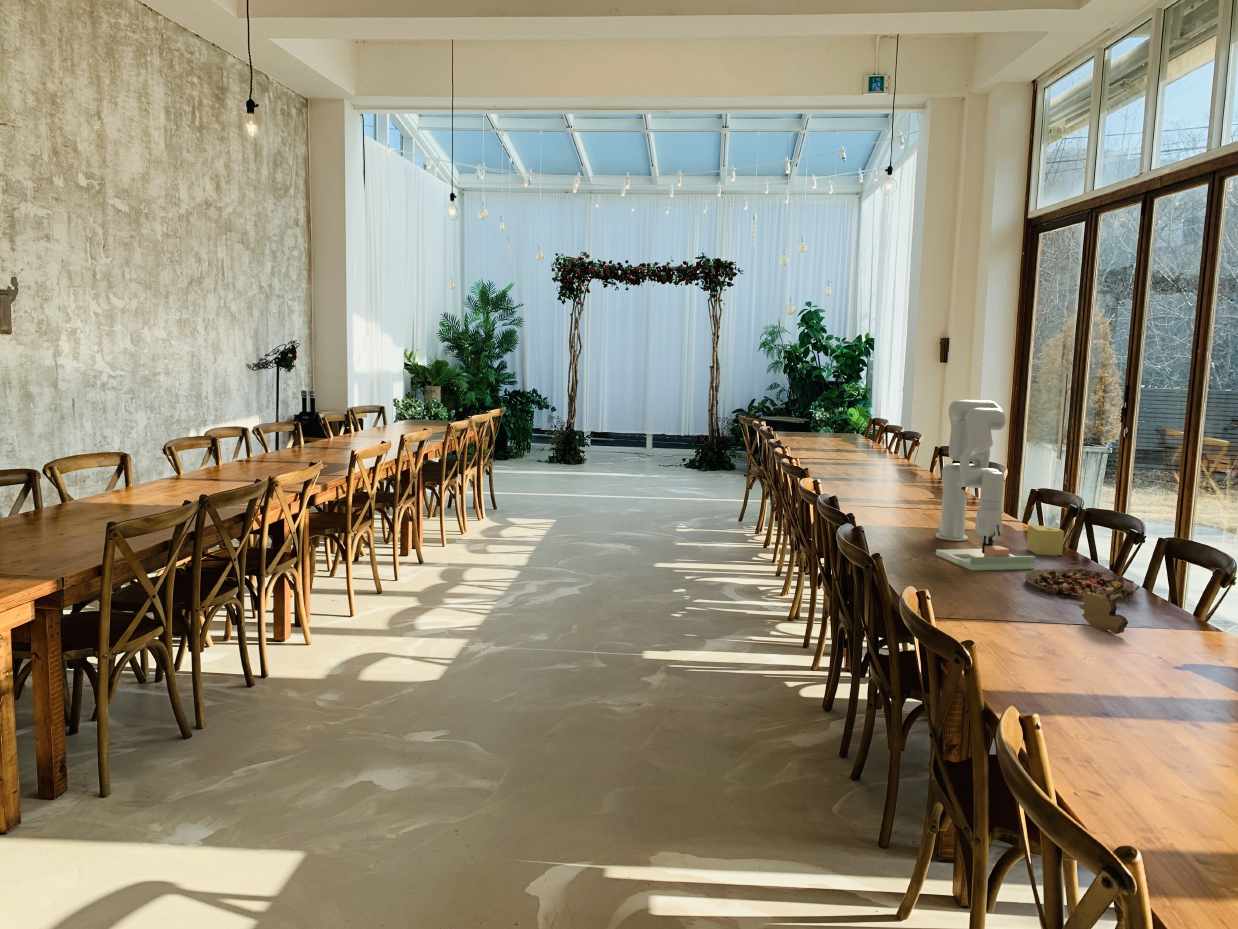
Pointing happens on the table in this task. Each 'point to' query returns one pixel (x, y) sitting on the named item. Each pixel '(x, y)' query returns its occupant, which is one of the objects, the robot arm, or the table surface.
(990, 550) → the block
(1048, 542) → the cheese
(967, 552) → the board
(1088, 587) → the food dish
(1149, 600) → the table surface
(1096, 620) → the wooden carving
